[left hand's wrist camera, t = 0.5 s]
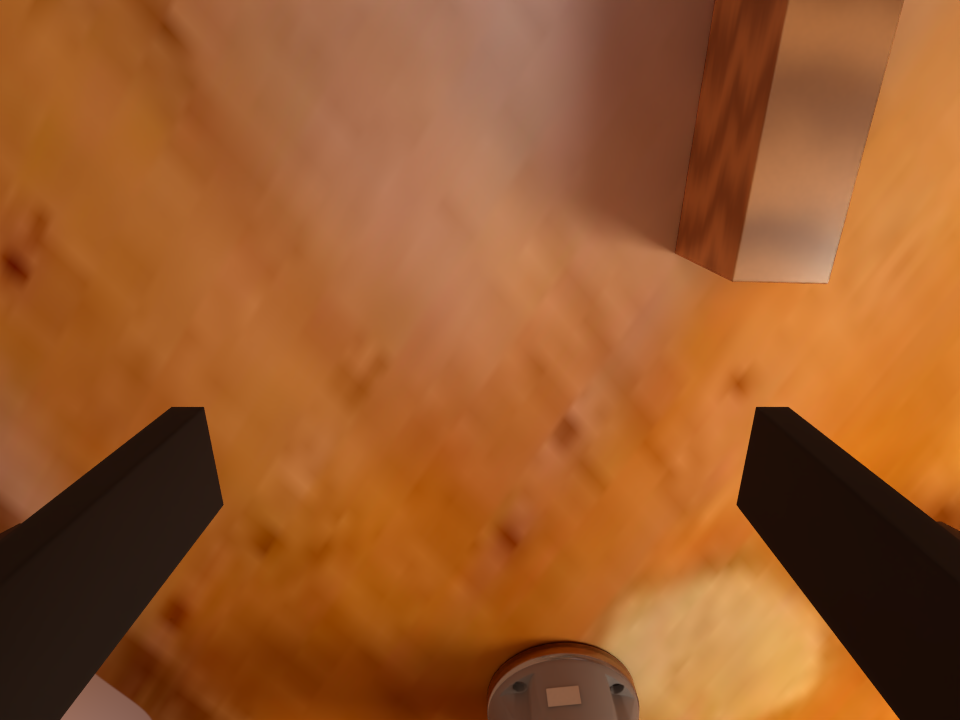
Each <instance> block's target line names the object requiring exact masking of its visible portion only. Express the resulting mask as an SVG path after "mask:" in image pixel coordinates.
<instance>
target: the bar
mask: <svg viewBox="0 0 960 720" xmlns="http://www.w3.org/2000/svg"><path fill="white" fill-rule="evenodd" d="M903 3H904V0H715V4H714V11H713V17H712V23H711V30H710V36H709V42H708V49H707V55H706V61H705V68H704V74H703V80H702V87H701V93H700V99H699V106H698V112H697V118H696V125H695V131H694V137H693V144H692V150H691V156H690V163H689V169H688V175H687V182H686V188H685V194H684V200H683V207H682V213H681V219H680V226H679V232H678V238H677V245H676V251H675V254H677V255H679V256H681V257H684V258H686V259H688V260H690V261H692V262H694V263H696V264H698V265H700V266H702V267H704V268H706V269H708V270H710V271H712V272H714V273H716V274H718V275H720V276H722V277H724V278H726V279H728V280H730V281H732V282H767V283H807V284H828V282H829V278H830V275H831V271H832V267H833V264H834V260H835V256H836V252H837V249H838V245H839V241H840V237H841V234H842V230H843V226H844V223H845V219H846V215H847V211H848V208H849V204H850V200H851V196H852V193H853V189H854V185H855V182H856V178H857V174H858V170H859V167H860V163H861V159H862V155H863V152H864V148H865V144H866V141H867V137H868V133H869V129H870V126H871V122H872V118H873V114H874V111H875V107H876V103H877V100H878V96H879V92H880V88H881V85H882V81H883V77H884V73H885V70H886V66H887V62H888V59H889V55H890V51H891V47H892V44H893V40H894V36H895V32H896V29H897V25H898V21H899V18H900V14H901V10H902V6H903Z"/></svg>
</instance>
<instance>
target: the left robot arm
mask: <svg viewBox="0 0 960 720" xmlns="http://www.w3.org/2000/svg"><path fill="white" fill-rule="evenodd" d="M222 506H223V500H222V495H221V490H220V485H219V480H218V475H217V470H216V465H215V460H214V455H213V450H212V445H211V440H210V435H209V430H208V425H207V420H206V415H205V410H204V407H171V408H170V409H168V410H167V411H166V412H165V413H163V414H162V415H161V416H159V417H158V418H157V419H156V420H154V421H153V422H152V423H150V424H149V425H148V426H147V427H145V428H144V429H143V430H141V431H140V432H139V433H138V434H136V435H135V436H134V437H132V438H131V439H130V440H129V441H127V442H126V443H125V444H123V445H122V446H121V447H120V448H118V449H117V450H116V451H114V452H113V453H112V454H111V455H109V456H108V457H107V458H105V459H104V460H103V461H102V462H100V463H99V464H98V465H96V466H95V467H94V468H92V469H91V470H90V471H89V472H87V473H86V474H85V475H83V476H82V477H81V478H80V479H78V480H77V481H76V482H74V483H73V484H72V485H71V486H69V487H68V488H67V489H65V490H64V491H63V492H62V493H60V494H59V495H58V496H56V497H55V498H54V499H53V500H51V501H50V502H49V503H47V504H46V505H45V506H44V507H42V508H41V509H40V510H38V511H37V512H36V513H35V514H33V515H32V516H31V517H29V518H28V519H27V520H26V521H24V522H23V523H22V524H18V525H16V526H14V527H12V528H10V529H8V530H6V531H4V532H2V533H0V720H60V719H61V718H62V717H63V715H64V714H65V713H66V711H67V710H68V709H69V707H70V706H71V705H72V703H73V702H74V701H75V699H76V698H77V697H78V695H79V694H80V693H81V692H82V690H83V689H84V688H85V686H86V685H87V684H88V682H89V681H90V680H91V678H92V677H93V676H94V674H95V673H96V672H97V670H98V669H99V668H100V667H101V665H102V664H103V663H104V661H105V660H106V659H107V657H108V656H109V655H110V653H111V652H112V651H113V649H114V648H115V647H116V646H117V644H118V643H119V642H120V640H121V639H122V638H123V636H124V635H125V634H126V632H127V631H128V630H129V628H130V627H131V626H132V624H133V623H134V622H135V621H136V619H137V618H138V617H139V615H140V614H141V613H142V611H143V610H144V609H145V607H146V606H147V605H148V603H149V602H150V601H151V599H152V598H153V597H154V596H155V594H156V593H157V592H158V590H159V589H160V588H161V586H162V585H163V584H164V582H165V581H166V580H167V578H168V577H169V576H170V575H171V573H172V572H173V571H174V569H175V568H176V567H177V565H178V564H179V563H180V561H181V560H182V559H183V557H184V556H185V555H186V553H187V552H188V551H189V550H190V548H191V547H192V546H193V544H194V543H195V542H196V540H197V539H198V538H199V536H200V535H201V534H202V532H203V531H204V530H205V529H206V527H207V526H208V525H209V523H210V522H211V521H212V519H213V518H214V517H215V515H216V514H217V513H218V511H219V510H220V509H221V507H222ZM737 506H738V507H739V509H740V510H741V511H742V513H743V514H744V515H745V517H746V518H747V519H748V521H749V522H750V523H751V525H752V526H753V527H754V529H755V530H756V531H757V532H758V534H759V535H760V536H761V538H762V539H763V540H764V542H765V543H766V544H767V546H768V547H769V548H770V550H771V551H772V552H773V553H774V555H775V556H776V557H777V559H778V560H779V561H780V563H781V564H782V565H783V567H784V568H785V569H786V571H787V572H788V573H789V575H790V576H791V577H792V578H793V580H794V581H795V582H796V584H797V585H798V586H799V588H800V589H801V590H802V592H803V593H804V594H805V596H806V597H807V598H808V599H809V601H810V602H811V603H812V605H813V606H814V607H815V609H816V610H817V611H818V613H819V614H820V615H821V617H822V618H823V619H824V621H825V622H826V623H827V624H828V626H829V627H830V628H831V630H832V631H833V632H834V634H835V635H836V636H837V638H838V639H839V640H840V642H841V643H842V644H843V646H844V647H845V648H846V649H847V651H848V652H849V653H850V655H851V656H852V657H853V659H854V660H855V661H856V663H857V664H858V665H859V667H860V668H861V669H862V670H863V672H864V673H865V674H866V676H867V677H868V678H869V680H870V681H871V682H872V684H873V685H874V686H875V688H876V689H877V690H878V692H879V693H880V694H881V695H882V697H883V698H884V699H885V701H886V702H887V703H888V705H889V706H890V707H891V709H892V710H893V711H894V713H895V714H896V715H897V717H898V718H899V719H900V720H960V531H958V530H956V529H954V528H952V527H951V526H949V525H947V524H945V523H943V522H936V521H934V520H933V519H932V518H931V517H929V516H928V515H927V514H925V513H924V512H923V511H922V510H920V509H919V508H918V507H916V506H915V505H914V504H913V503H911V502H910V501H909V500H907V499H906V498H905V497H904V496H902V495H901V494H900V493H898V492H897V491H896V490H895V489H893V488H892V487H891V486H889V485H888V484H887V483H886V482H884V481H883V480H882V479H880V478H879V477H878V476H877V475H875V474H874V473H873V472H871V471H870V470H869V469H868V468H866V467H865V466H864V465H862V464H861V463H860V462H858V461H857V460H856V459H855V458H853V457H852V456H851V455H849V454H848V453H847V452H846V451H844V450H843V449H842V448H840V447H839V446H838V445H837V444H835V443H834V442H833V441H831V440H830V439H829V438H828V437H826V436H825V435H824V434H822V433H821V432H820V431H819V430H817V429H816V428H815V427H813V426H812V425H811V424H810V423H808V422H807V421H806V420H804V419H803V418H802V417H801V416H799V415H798V414H797V413H795V412H794V411H793V410H792V409H790V408H789V407H756V410H755V415H754V420H753V425H752V430H751V435H750V440H749V445H748V450H747V455H746V460H745V465H744V470H743V475H742V480H741V485H740V490H739V495H738V500H737ZM487 711H488V720H639V701H638V697H637V693H636V690H635V686H634V683H633V680H632V677H631V675H630V673H629V672H628V670H627V669H626V667H625V666H624V665H623V664H622V663H621V662H620V661H619V660H618V659H616V658H615V657H614V656H612V655H610V654H609V653H607V652H605V651H603V650H600V649H598V648H595V647H592V646H588V645H583V644H577V643H553V644H546V645H541V646H537V647H534V648H531V649H528V650H526V651H523V652H521V653H519V654H517V655H516V656H514V657H512V658H511V659H509V660H508V661H507V662H506V663H504V664H503V665H502V666H501V667H500V668H499V669H498V671H497V672H496V673H495V675H494V676H493V678H492V680H491V682H490V685H489V688H488V694H487Z"/></svg>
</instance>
